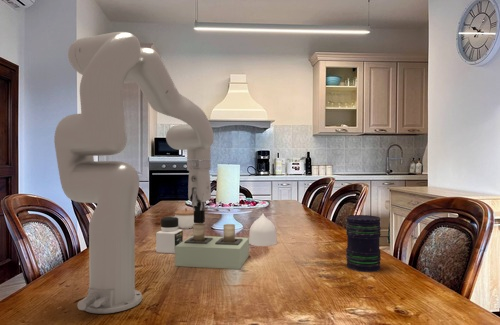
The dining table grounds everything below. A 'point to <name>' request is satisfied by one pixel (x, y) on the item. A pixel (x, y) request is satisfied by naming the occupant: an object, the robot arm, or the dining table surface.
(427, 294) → the dining table surface
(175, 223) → the medicine bottle
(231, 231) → the peg right
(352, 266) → the storage jar
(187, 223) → the lidded jar
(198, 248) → the sage block
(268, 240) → the teardrop
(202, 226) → the peg left
